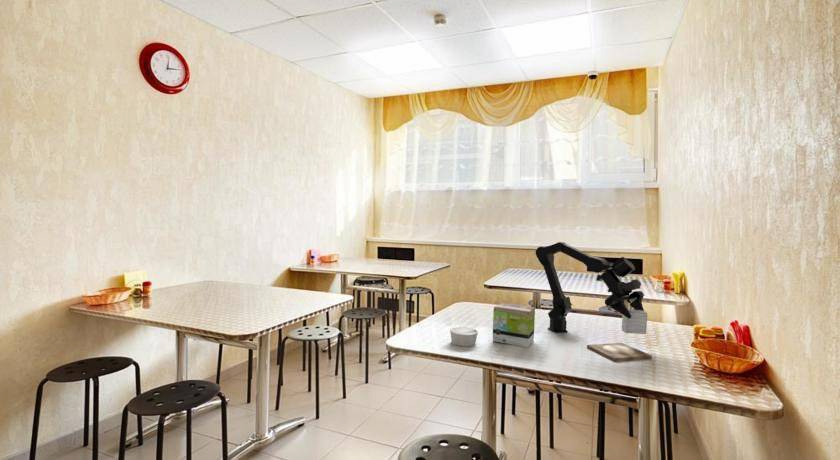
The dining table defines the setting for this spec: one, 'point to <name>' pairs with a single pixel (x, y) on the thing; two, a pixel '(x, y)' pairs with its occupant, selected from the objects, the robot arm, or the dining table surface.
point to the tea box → (513, 324)
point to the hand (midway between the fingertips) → (637, 316)
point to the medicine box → (635, 322)
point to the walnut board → (619, 352)
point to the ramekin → (463, 336)
